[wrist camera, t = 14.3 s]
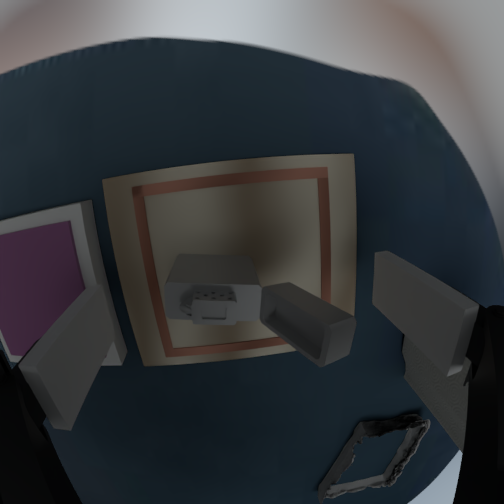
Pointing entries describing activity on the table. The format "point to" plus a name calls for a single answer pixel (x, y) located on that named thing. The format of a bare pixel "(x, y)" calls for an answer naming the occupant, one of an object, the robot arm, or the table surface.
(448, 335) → the robot arm
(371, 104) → the table surface
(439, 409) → the paper towel roll
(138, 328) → the marked board
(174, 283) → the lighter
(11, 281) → the ink pad
